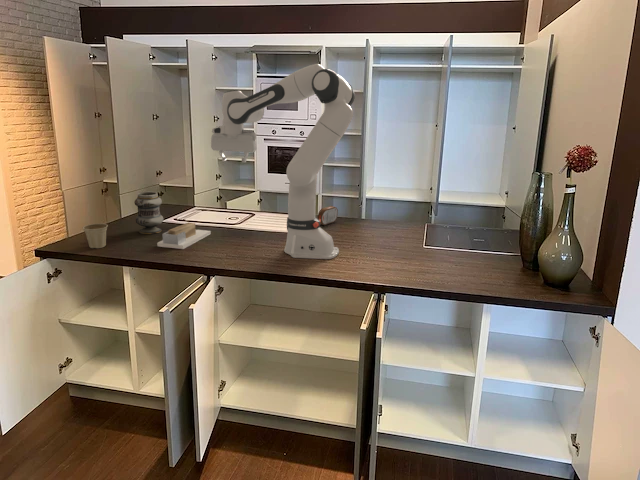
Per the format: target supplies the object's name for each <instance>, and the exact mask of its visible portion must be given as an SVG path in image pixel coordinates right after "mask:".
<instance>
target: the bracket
mask: <svg viewBox="0 0 640 480" xmlns="http://www.w3.org/2000/svg"><path fill="white" fill-rule="evenodd" d="M211 232H212V231H211V230H205V229H196V234H195V235H193V236H191V237H188V238H186V234H185V232H182V233H179V234H177V235H174V234H169V232H168V231H165V232H163V233H162V240H160V241H158V242H157V243H156V244H157V245H156V246H157V247H160V248H161V247H162V248H172V249H180V250H185V249H186V248H189V247H190V246H192V245H194V244H195V243H197V242H199V241H200V240H202V239H204V238H206V237H208V236H209V235H211V234H212V233H211Z"/></svg>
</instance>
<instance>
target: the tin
mask: <svg viewBox="0 0 640 480" xmlns="http://www.w3.org/2000/svg"><path fill="white" fill-rule="evenodd" d="M338 214H339V210H338V208H337V207H336V206H333V205H329V206H326V207H322V208H321V209H320V210H319V212H318V214H317V217H316V218H317V219H318V220H320V219H321V222H320V225H322V226H326V225H329V224H333V223H334V222H336V221H337V219H338V216H339V215H338Z"/></svg>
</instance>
